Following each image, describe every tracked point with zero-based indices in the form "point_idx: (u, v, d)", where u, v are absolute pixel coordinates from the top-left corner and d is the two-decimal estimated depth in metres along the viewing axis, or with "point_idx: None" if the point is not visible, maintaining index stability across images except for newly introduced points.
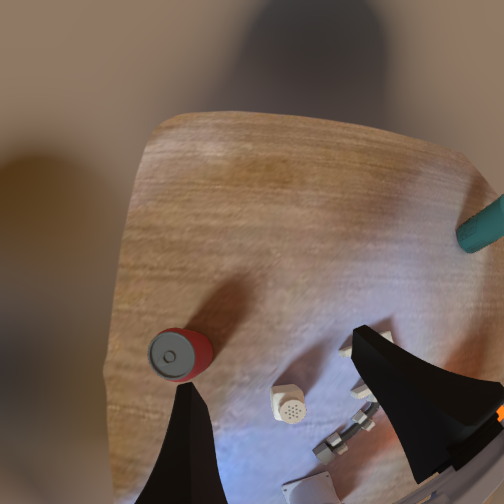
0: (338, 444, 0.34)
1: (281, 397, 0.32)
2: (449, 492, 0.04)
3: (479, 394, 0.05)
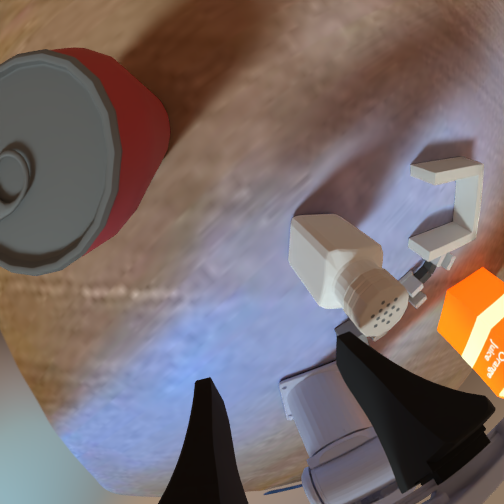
0: None
1: (346, 262, 0.15)
2: (449, 492, 0.04)
3: (462, 408, 0.05)
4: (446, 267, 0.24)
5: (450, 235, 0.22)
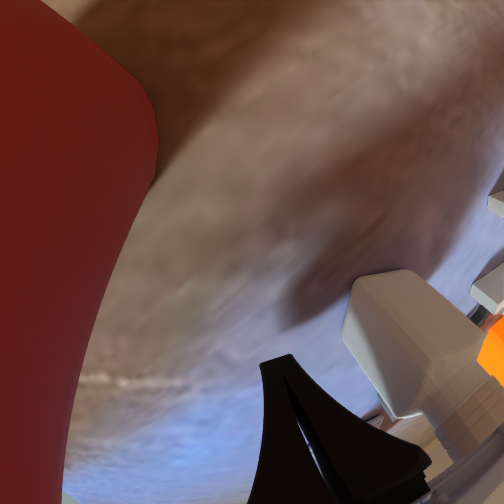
0: None
1: (450, 371, 0.07)
2: (449, 492, 0.04)
3: (387, 458, 0.05)
4: (502, 312, 0.17)
5: None
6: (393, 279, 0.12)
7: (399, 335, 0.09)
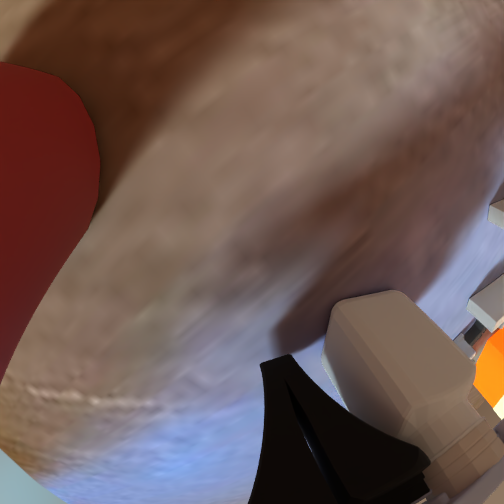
0: None
1: (434, 415, 0.06)
2: None
3: (386, 459, 0.05)
4: (500, 326, 0.16)
5: None
6: (378, 303, 0.11)
7: (378, 373, 0.08)
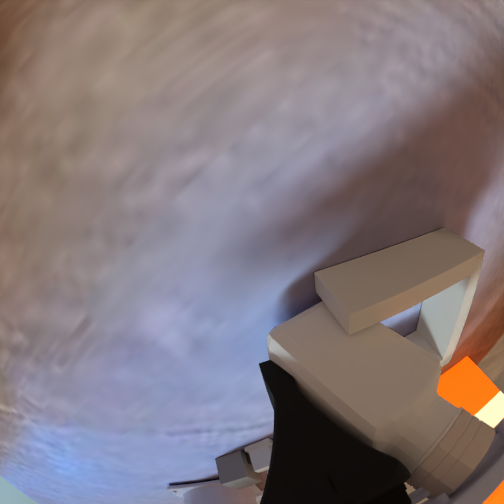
0: None
1: (404, 426, 0.06)
2: None
3: (364, 470, 0.05)
4: None
5: None
6: (314, 321, 0.11)
7: (332, 400, 0.08)
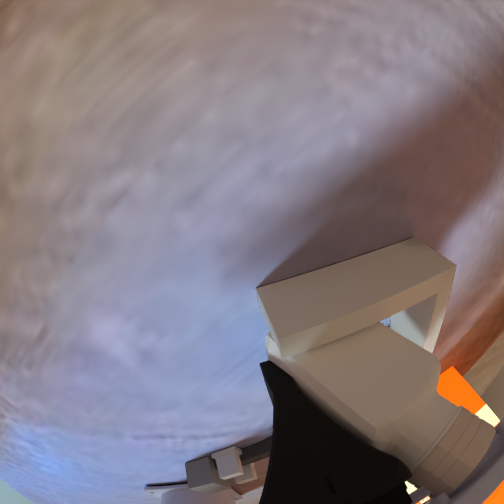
0: None
1: (404, 426, 0.06)
2: None
3: (365, 470, 0.05)
4: None
5: None
6: None
7: (331, 400, 0.08)
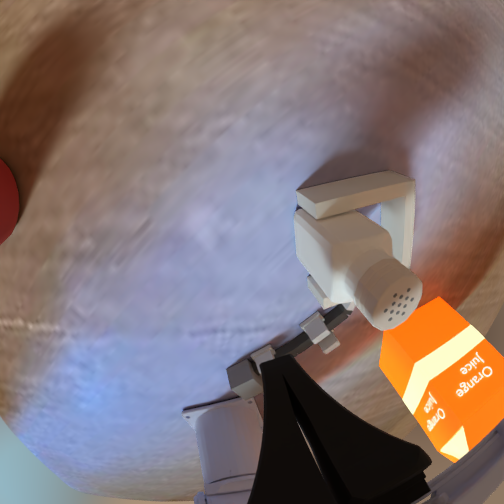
0: None
1: (353, 255, 0.14)
2: (450, 492, 0.04)
3: (387, 458, 0.05)
4: None
5: None
6: None
7: (316, 236, 0.16)
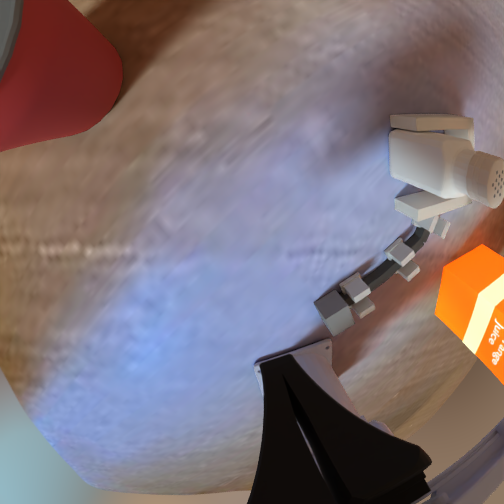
0: None
1: (456, 150, 0.13)
2: (449, 492, 0.04)
3: (387, 458, 0.05)
4: (440, 234, 0.22)
5: None
6: None
7: (422, 141, 0.15)
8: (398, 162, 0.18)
